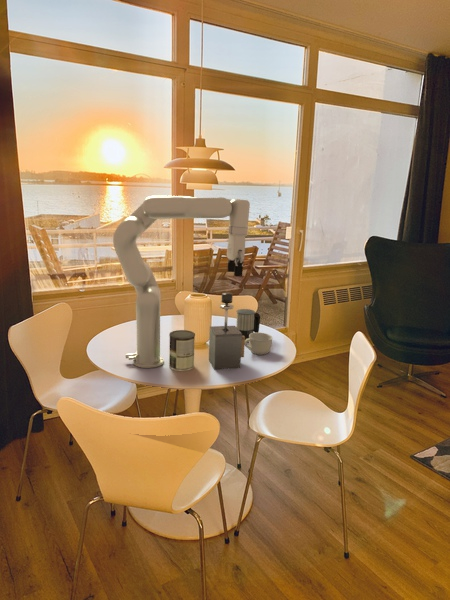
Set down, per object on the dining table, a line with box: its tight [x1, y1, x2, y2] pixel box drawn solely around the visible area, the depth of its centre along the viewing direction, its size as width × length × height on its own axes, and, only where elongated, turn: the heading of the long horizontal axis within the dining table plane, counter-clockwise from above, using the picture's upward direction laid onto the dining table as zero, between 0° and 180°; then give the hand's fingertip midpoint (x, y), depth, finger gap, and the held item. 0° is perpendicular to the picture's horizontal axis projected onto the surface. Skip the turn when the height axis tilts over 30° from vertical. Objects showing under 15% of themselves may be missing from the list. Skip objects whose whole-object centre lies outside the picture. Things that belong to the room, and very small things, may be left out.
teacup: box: [244, 331, 274, 356], centre depth 196 cm, size 14×11×8 cm
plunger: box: [219, 292, 235, 331], centre depth 177 cm, size 8×8×18 cm
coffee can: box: [168, 329, 196, 372], centre depth 176 cm, size 10×10×14 cm
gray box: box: [208, 325, 245, 371], centre depth 180 cm, size 14×11×15 cm
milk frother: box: [235, 308, 261, 344], centre depth 215 cm, size 14×16×15 cm
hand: (234, 273), depth 175 cm, fingers open, 9 cm apart
